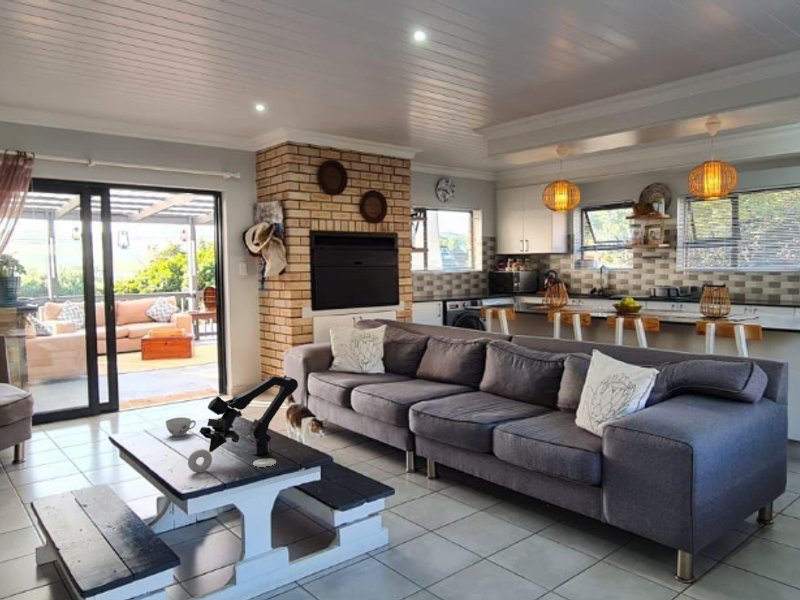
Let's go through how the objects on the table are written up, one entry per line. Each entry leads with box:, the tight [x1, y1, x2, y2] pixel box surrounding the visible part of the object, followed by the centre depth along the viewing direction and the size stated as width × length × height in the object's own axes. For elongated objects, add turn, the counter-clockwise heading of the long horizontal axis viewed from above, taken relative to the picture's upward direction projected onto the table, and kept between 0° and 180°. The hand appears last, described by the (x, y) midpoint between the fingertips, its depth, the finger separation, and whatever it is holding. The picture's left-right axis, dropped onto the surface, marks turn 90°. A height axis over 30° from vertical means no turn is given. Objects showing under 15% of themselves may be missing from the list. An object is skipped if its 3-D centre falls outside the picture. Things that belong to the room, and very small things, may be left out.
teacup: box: [165, 416, 197, 437], centre depth 306 cm, size 15×12×8 cm
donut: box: [187, 448, 213, 473], centre depth 247 cm, size 10×4×10 cm, turn 125°
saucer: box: [252, 457, 277, 468], centre depth 257 cm, size 10×10×1 cm
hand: (210, 451), depth 252 cm, fingers closed
